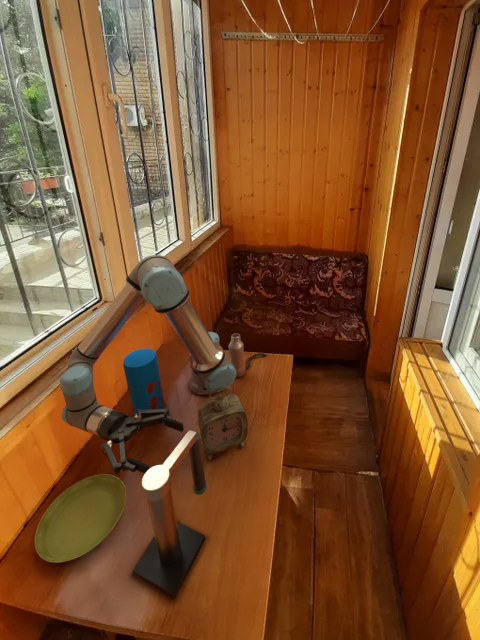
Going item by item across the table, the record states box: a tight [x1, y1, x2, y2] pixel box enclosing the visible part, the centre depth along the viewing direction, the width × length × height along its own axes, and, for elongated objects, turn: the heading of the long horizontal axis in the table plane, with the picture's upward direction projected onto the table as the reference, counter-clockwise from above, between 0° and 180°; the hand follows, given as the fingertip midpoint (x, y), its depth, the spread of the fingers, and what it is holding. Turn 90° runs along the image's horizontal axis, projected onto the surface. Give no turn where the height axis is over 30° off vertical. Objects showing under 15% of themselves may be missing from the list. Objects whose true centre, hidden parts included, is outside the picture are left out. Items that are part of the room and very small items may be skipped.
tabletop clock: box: [197, 386, 249, 461], centre depth 101 cm, size 14×9×25 cm, turn 115°
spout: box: [141, 429, 208, 501], centre depth 76 cm, size 18×6×22 cm, turn 160°
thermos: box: [122, 347, 165, 417], centre depth 114 cm, size 11×11×25 cm
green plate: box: [34, 473, 127, 564], centre depth 83 cm, size 21×21×3 cm
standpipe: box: [132, 488, 206, 600], centre depth 73 cm, size 12×12×24 cm
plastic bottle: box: [228, 332, 246, 378], centre depth 134 cm, size 6×7×20 cm
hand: (166, 447), depth 86 cm, fingers open, 13 cm apart
